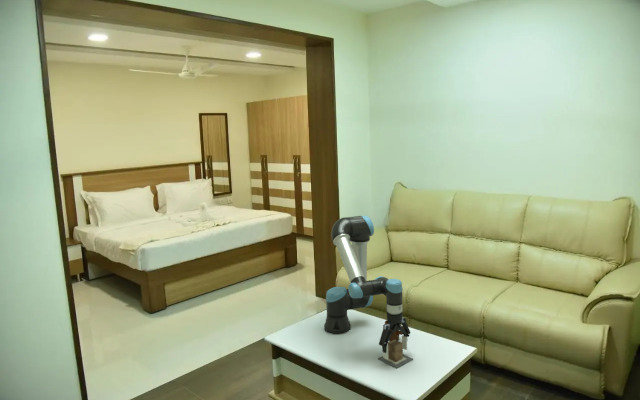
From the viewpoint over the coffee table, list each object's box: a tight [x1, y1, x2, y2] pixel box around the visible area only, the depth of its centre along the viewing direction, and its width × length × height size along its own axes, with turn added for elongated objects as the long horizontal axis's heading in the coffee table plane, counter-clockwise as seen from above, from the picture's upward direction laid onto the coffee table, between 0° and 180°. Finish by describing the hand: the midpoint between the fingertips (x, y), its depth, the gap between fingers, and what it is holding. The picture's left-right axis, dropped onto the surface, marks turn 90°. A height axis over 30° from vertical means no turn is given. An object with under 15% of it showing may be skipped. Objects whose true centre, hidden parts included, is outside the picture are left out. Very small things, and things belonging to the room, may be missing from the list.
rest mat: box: [377, 353, 414, 369], centre depth 215 cm, size 12×12×1 cm
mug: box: [384, 320, 404, 342], centre depth 235 cm, size 12×8×9 cm, turn 43°
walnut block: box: [387, 340, 404, 362], centre depth 214 cm, size 5×5×8 cm
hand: (395, 353), depth 215 cm, fingers open, 13 cm apart
